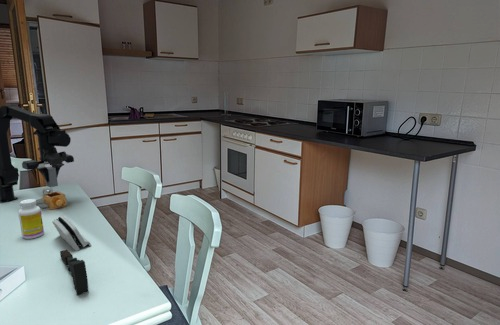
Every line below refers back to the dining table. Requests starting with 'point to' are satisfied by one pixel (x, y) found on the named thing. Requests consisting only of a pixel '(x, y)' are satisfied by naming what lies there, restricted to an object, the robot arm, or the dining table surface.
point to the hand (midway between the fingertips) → (51, 181)
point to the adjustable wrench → (76, 271)
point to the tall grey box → (51, 177)
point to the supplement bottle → (30, 219)
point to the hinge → (70, 233)
